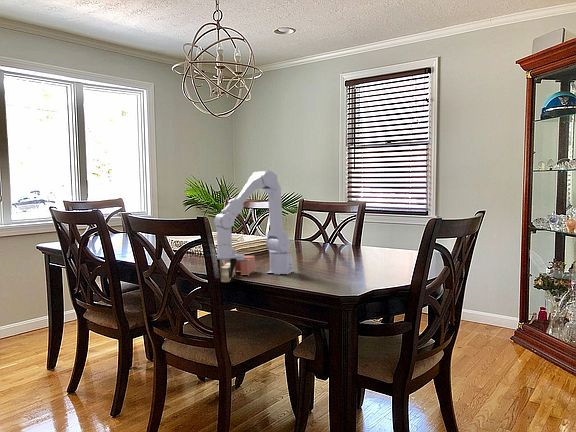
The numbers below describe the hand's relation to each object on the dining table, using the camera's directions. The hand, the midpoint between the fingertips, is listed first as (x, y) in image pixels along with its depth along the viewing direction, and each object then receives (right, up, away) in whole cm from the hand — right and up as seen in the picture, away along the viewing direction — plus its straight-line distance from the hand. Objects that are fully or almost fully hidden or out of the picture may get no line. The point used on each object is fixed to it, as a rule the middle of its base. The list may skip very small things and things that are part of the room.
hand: (225, 278), depth 191 cm
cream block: (0, -1, +5) cm, 5 cm away
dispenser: (+4, 0, +16) cm, 16 cm away
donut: (-2, +1, +29) cm, 29 cm away
